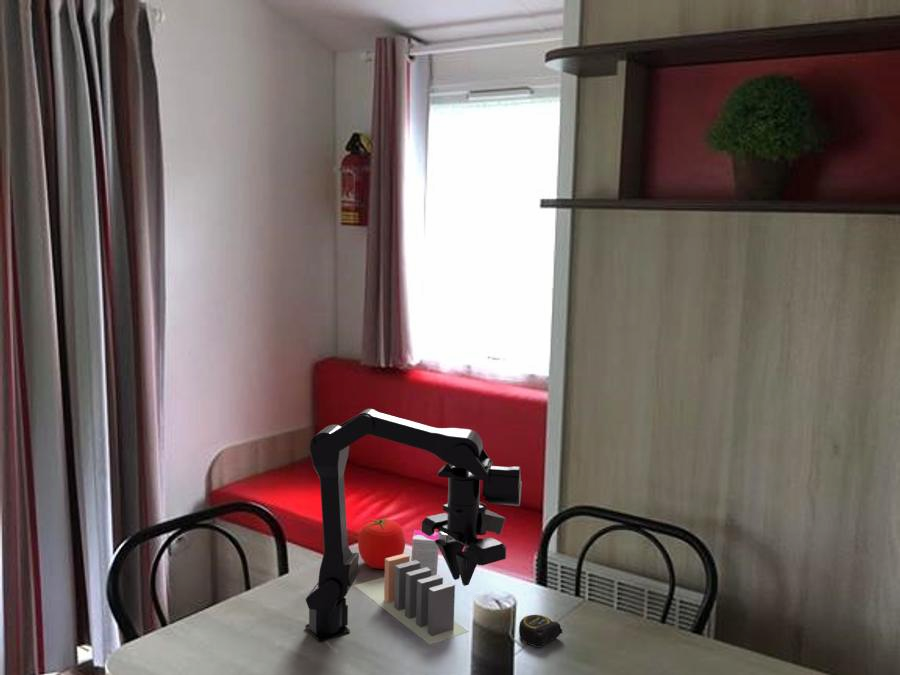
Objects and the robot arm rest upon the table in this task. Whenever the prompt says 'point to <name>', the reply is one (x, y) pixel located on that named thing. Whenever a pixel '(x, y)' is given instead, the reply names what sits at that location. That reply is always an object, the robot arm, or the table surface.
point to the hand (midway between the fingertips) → (461, 582)
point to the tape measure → (538, 630)
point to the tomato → (380, 542)
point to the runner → (376, 593)
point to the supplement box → (425, 550)
